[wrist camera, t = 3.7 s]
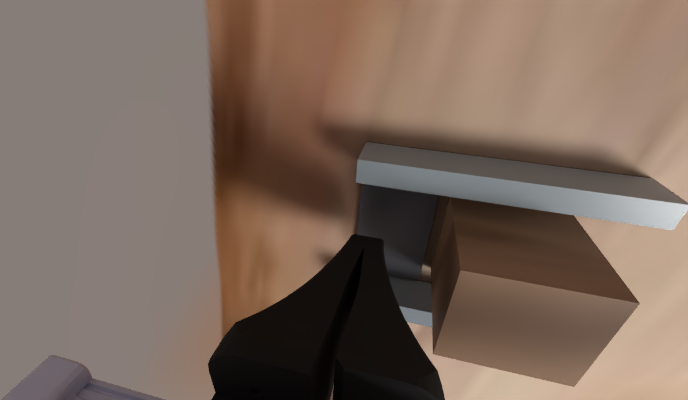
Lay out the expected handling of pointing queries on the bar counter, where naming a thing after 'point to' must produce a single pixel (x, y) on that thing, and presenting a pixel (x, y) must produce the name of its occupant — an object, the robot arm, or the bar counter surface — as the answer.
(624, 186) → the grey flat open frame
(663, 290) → the bar counter surface
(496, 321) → the walnut block
